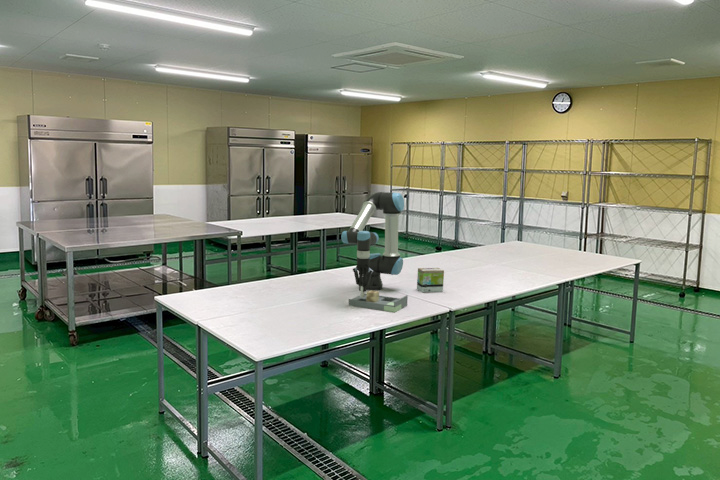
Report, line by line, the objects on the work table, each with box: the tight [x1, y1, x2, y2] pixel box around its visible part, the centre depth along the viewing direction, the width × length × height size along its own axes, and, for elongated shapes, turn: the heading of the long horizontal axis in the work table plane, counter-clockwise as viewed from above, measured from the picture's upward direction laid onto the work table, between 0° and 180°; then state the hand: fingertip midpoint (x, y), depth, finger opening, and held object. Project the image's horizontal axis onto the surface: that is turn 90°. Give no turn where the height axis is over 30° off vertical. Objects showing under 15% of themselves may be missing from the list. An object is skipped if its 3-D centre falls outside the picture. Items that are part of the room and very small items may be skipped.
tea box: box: [416, 267, 445, 293], centre depth 370 cm, size 15×10×15 cm
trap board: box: [348, 293, 409, 313], centre depth 330 cm, size 30×18×6 cm, turn 63°
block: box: [365, 290, 380, 302], centre depth 329 cm, size 6×6×6 cm
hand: (362, 296), depth 330 cm, fingers closed
